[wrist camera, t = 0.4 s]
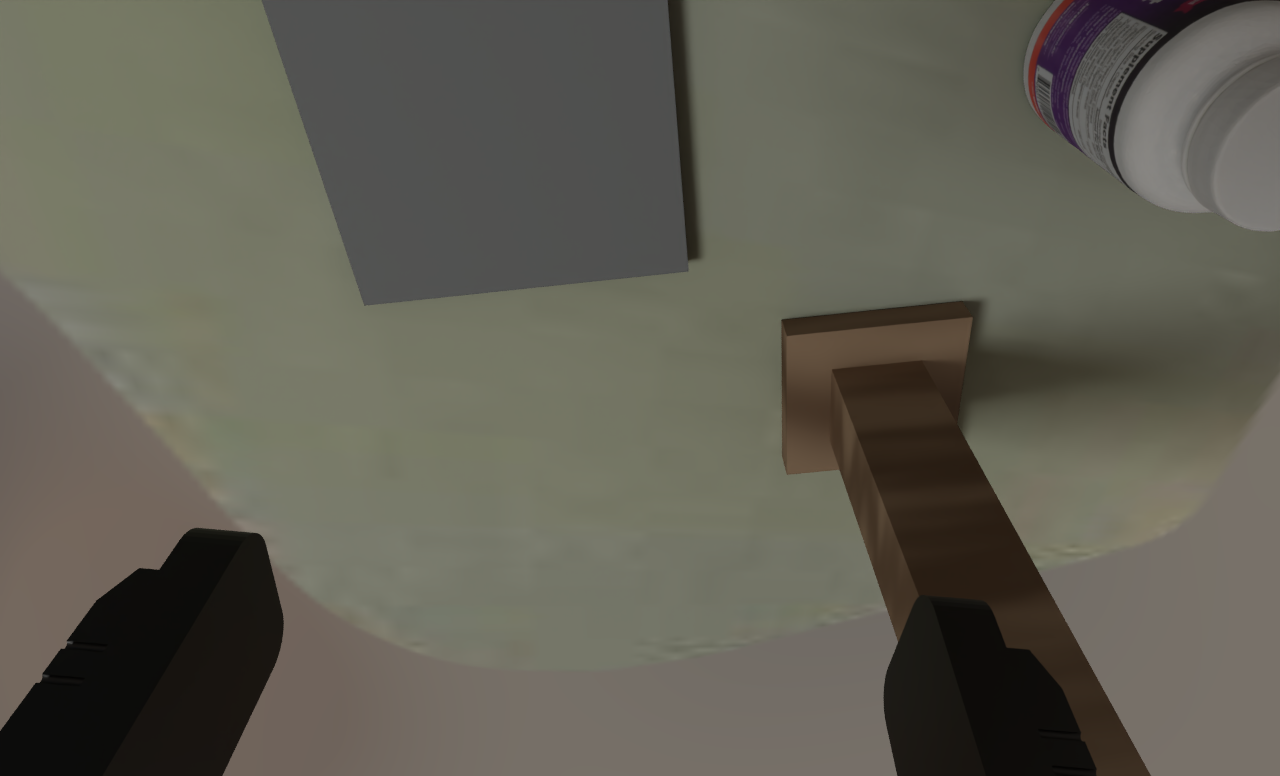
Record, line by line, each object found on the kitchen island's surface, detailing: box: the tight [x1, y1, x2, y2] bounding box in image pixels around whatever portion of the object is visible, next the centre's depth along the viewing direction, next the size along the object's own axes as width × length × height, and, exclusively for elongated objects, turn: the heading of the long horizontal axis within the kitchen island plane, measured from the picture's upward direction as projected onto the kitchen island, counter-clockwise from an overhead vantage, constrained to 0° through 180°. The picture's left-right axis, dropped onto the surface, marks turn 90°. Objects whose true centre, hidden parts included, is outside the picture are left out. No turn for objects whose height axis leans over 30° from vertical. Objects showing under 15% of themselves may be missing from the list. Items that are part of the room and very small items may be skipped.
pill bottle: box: [1023, 0, 1280, 231], centre depth 23 cm, size 5×5×10 cm
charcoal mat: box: [262, 0, 688, 306], centre depth 28 cm, size 12×12×1 cm
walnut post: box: [782, 301, 1151, 776], centre depth 24 cm, size 7×7×25 cm
